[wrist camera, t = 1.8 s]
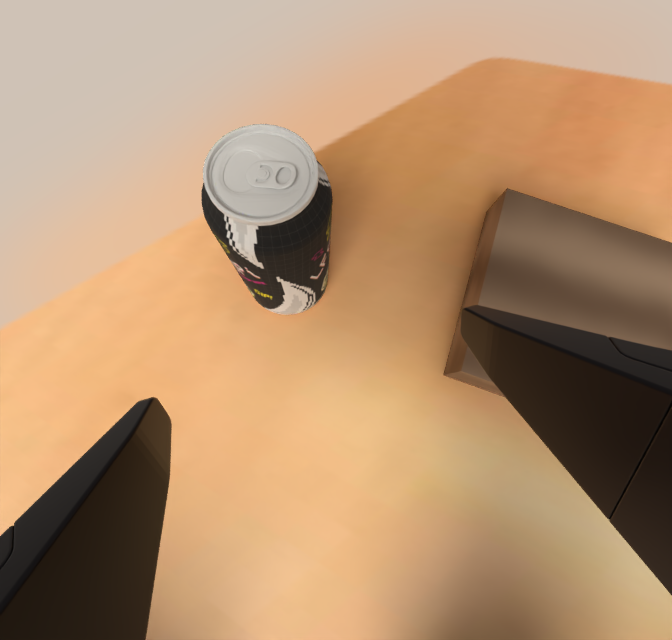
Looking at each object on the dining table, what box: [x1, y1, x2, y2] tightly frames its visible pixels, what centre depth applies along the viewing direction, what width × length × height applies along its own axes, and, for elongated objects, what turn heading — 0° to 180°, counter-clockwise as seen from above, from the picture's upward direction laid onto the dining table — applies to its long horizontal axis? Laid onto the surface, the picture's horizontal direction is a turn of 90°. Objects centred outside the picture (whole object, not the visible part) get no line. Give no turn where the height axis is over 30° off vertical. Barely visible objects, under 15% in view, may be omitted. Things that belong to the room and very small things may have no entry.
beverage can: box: [202, 124, 332, 315], centre depth 19 cm, size 6×6×12 cm
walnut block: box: [444, 188, 672, 397], centre depth 23 cm, size 14×14×3 cm
